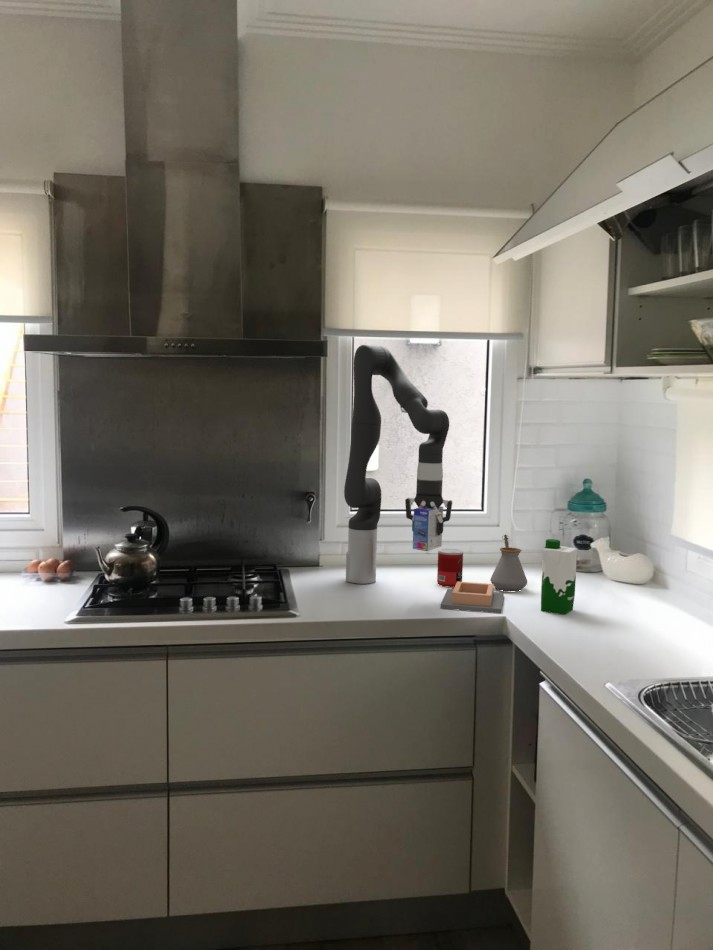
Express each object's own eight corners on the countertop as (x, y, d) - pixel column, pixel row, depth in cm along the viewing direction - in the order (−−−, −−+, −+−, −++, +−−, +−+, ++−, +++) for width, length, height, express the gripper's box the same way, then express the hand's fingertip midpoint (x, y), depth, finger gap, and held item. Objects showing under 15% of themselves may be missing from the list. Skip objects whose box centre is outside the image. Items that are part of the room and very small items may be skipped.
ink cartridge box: (425, 544, 252) (428, 496, 250) (442, 546, 249) (445, 499, 247) (410, 549, 243) (413, 500, 242) (427, 551, 240) (431, 502, 239)
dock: (440, 608, 237) (440, 594, 236) (447, 592, 256) (448, 579, 256) (500, 613, 233) (501, 598, 233) (503, 596, 253) (504, 582, 252)
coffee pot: (529, 594, 256) (531, 546, 255) (491, 592, 257) (493, 545, 255) (521, 579, 277) (523, 534, 276) (486, 577, 278) (488, 533, 277)
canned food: (461, 588, 262) (462, 553, 261) (436, 586, 264) (437, 552, 263) (462, 582, 270) (463, 549, 269) (437, 581, 271) (438, 547, 270)
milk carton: (546, 604, 244) (549, 537, 242) (577, 609, 239) (580, 540, 237) (536, 611, 236) (539, 541, 234) (568, 616, 232) (571, 545, 230)
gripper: (403, 478, 242) (401, 534, 243) (453, 480, 239) (450, 538, 240) (407, 475, 249) (405, 530, 251) (455, 477, 246) (453, 533, 248)
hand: (427, 534), depth 246 cm, fingers closed on ink cartridge box, 6 cm apart
